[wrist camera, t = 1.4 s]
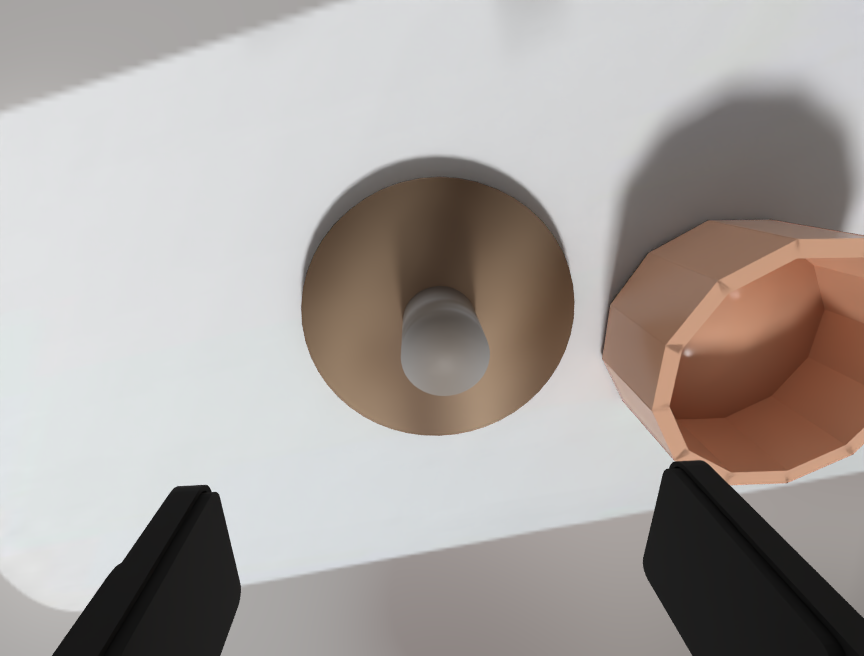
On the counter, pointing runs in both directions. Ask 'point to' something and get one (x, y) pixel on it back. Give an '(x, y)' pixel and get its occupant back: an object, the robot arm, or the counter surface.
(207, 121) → the counter surface
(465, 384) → the lid
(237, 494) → the counter surface
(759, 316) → the bowl
